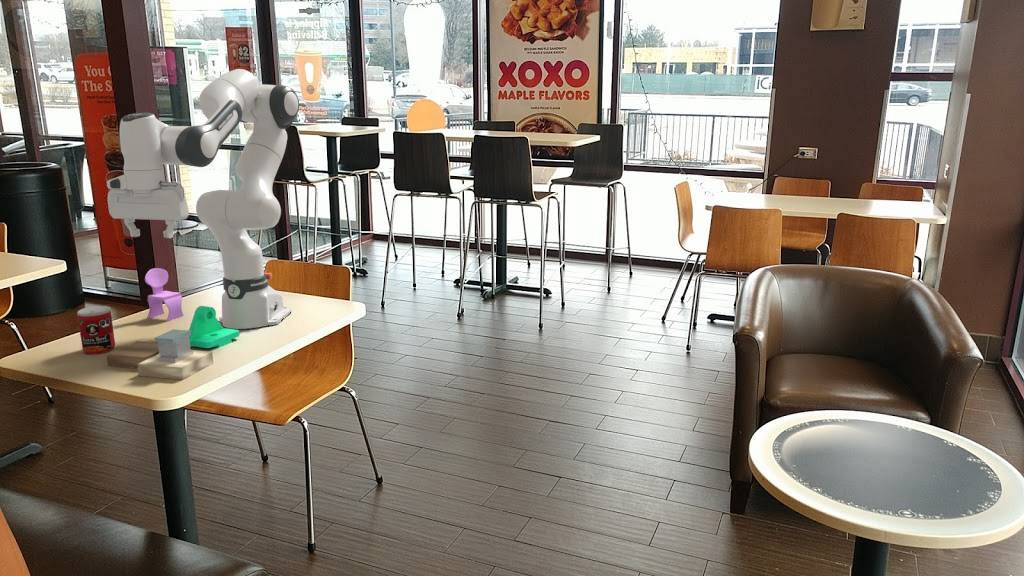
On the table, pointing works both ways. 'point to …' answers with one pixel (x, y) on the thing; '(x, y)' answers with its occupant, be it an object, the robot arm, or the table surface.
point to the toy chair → (162, 295)
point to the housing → (174, 346)
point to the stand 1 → (132, 354)
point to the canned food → (96, 329)
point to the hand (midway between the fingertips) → (151, 237)
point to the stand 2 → (176, 366)
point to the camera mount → (209, 329)
